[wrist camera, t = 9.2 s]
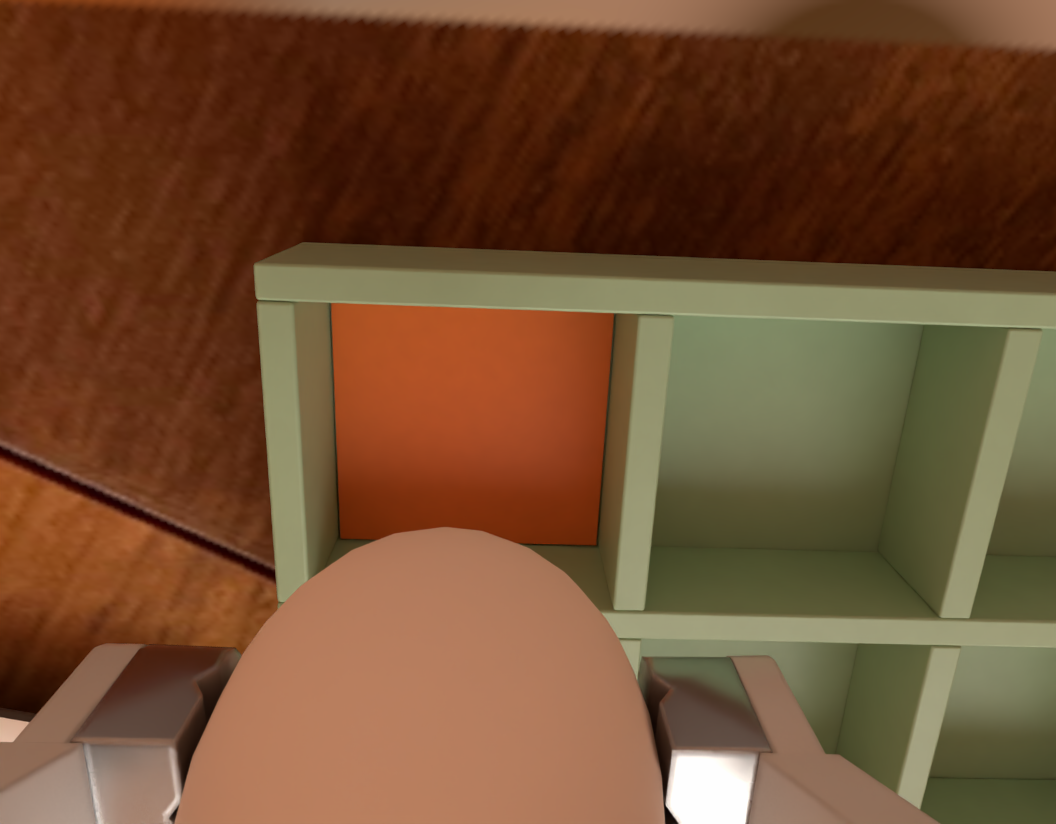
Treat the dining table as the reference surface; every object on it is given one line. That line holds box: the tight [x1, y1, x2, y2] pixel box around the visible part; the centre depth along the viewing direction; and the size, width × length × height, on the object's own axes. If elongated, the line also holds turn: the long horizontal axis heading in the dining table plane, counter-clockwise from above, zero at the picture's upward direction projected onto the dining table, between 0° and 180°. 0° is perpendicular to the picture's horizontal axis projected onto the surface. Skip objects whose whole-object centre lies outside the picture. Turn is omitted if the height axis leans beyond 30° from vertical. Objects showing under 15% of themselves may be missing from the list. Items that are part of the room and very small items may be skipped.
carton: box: [254, 242, 1056, 824], centre depth 18 cm, size 15×22×4 cm
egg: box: [174, 527, 665, 824], centre depth 8 cm, size 5×5×7 cm
